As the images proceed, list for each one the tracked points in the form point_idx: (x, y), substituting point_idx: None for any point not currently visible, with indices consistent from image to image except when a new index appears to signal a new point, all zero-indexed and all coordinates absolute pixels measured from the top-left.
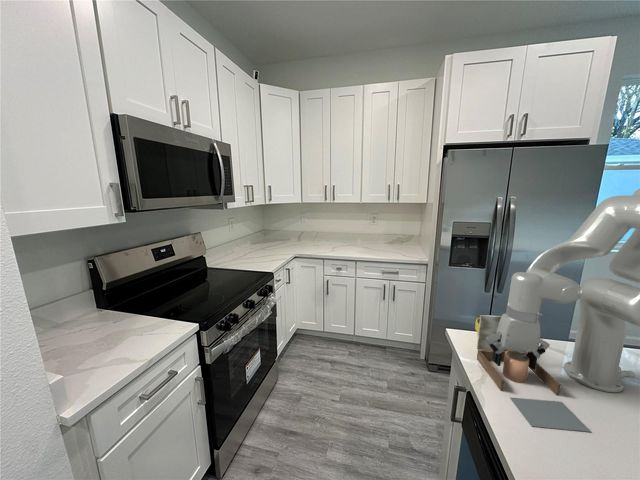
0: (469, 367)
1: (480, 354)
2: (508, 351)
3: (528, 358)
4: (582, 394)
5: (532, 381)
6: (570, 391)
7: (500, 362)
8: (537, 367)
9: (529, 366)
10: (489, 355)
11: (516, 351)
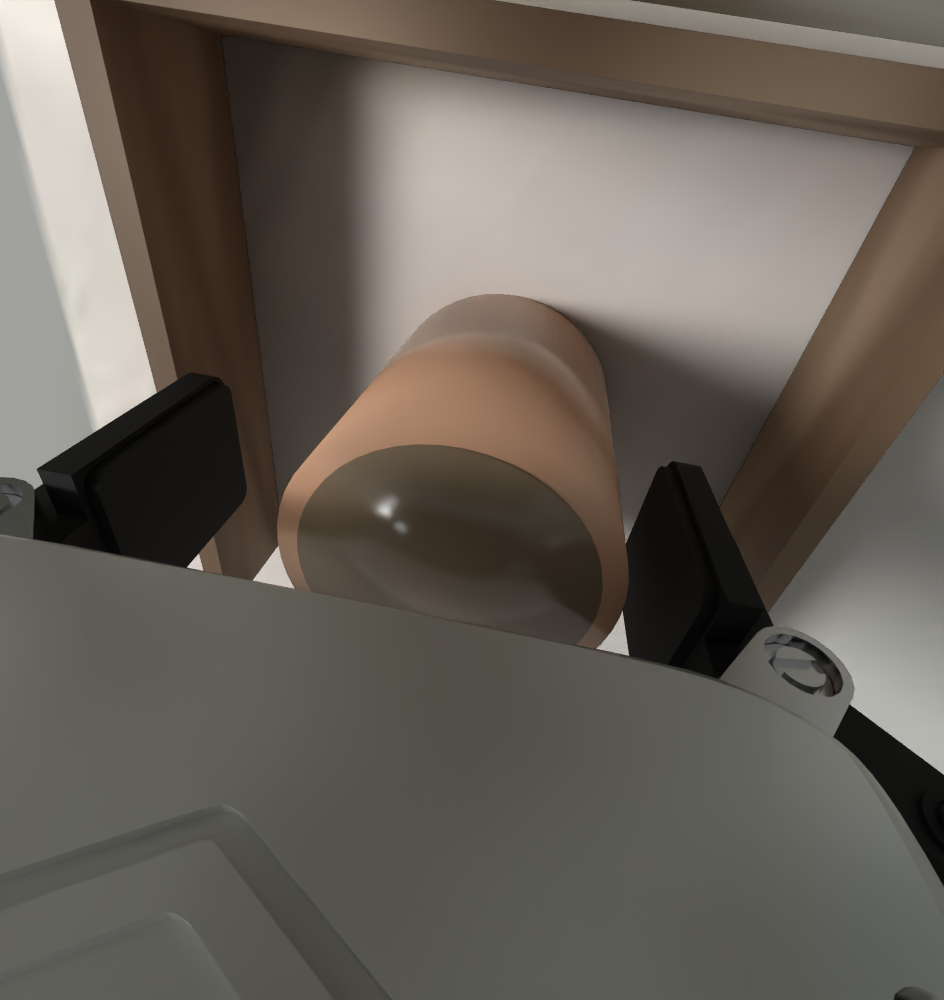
0: (67, 221)
1: (99, 102)
2: (373, 462)
3: (589, 645)
4: (896, 645)
5: (621, 486)
6: (837, 612)
7: (216, 526)
8: (805, 476)
9: (631, 534)
10: (315, 41)
11: (555, 470)
